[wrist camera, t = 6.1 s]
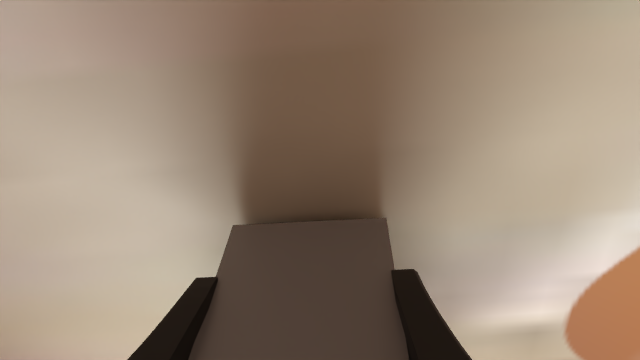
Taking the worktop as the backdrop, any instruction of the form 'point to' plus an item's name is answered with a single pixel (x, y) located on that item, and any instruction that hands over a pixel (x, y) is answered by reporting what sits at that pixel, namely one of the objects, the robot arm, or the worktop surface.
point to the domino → (304, 294)
